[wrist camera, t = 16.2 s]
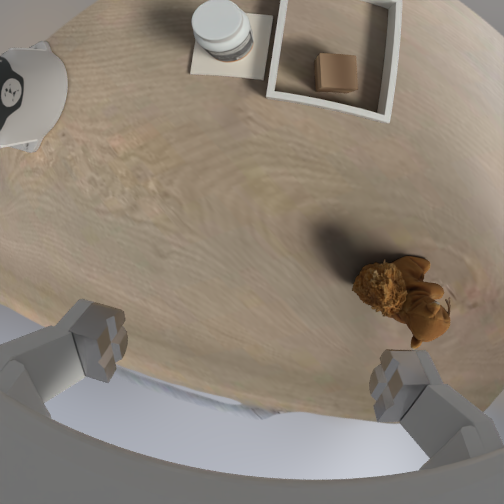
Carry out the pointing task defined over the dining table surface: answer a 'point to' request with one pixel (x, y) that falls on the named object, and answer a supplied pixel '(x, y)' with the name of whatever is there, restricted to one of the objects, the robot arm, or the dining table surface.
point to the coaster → (245, 67)
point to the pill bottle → (223, 30)
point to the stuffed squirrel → (405, 296)
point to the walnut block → (335, 73)
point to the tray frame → (383, 115)
